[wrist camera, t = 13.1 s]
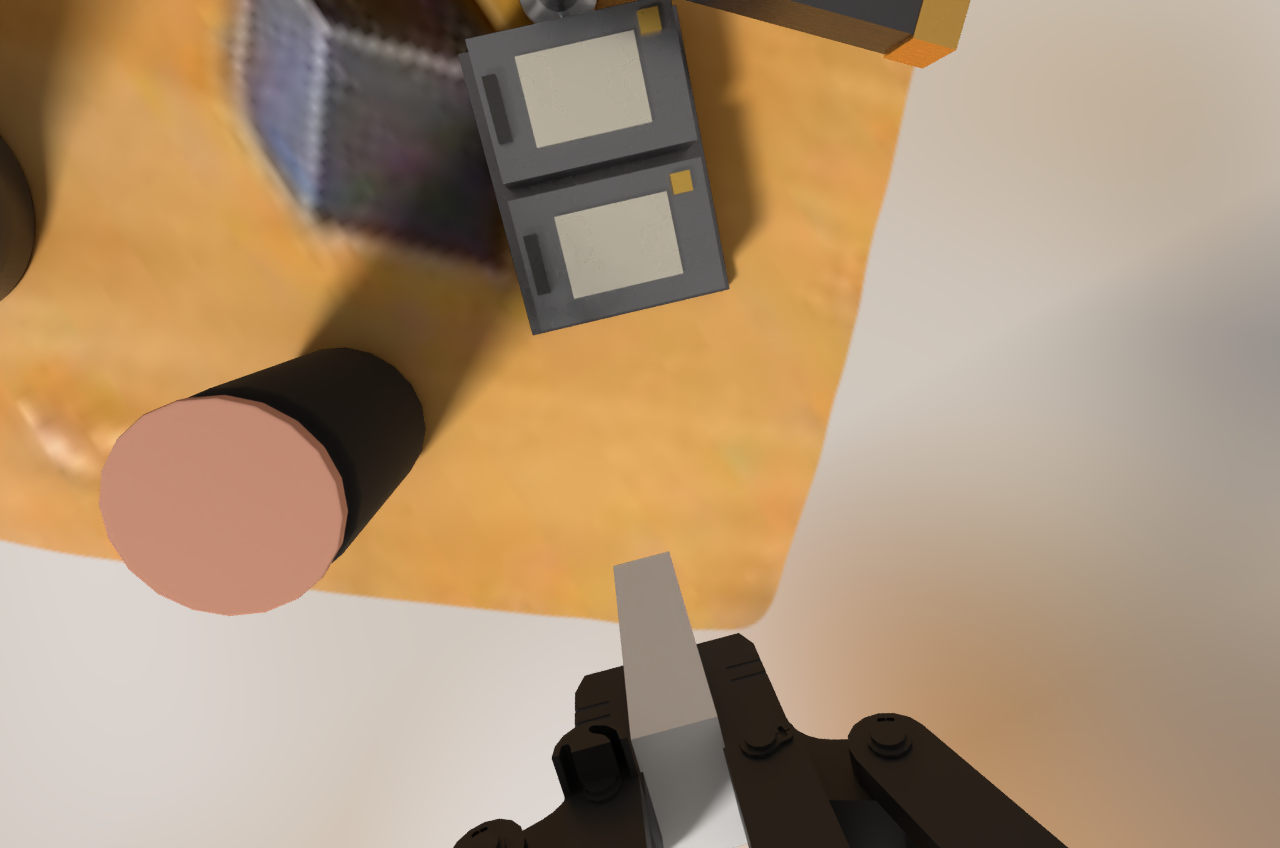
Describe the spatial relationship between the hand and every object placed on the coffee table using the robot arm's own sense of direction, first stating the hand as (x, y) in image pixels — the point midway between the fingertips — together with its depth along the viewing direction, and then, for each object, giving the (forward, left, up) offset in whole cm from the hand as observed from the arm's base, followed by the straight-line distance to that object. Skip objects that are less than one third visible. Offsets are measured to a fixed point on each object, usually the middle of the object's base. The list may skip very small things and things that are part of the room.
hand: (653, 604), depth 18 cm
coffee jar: (-18, +2, -33) cm, 37 cm away
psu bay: (+3, +14, -32) cm, 35 cm away
